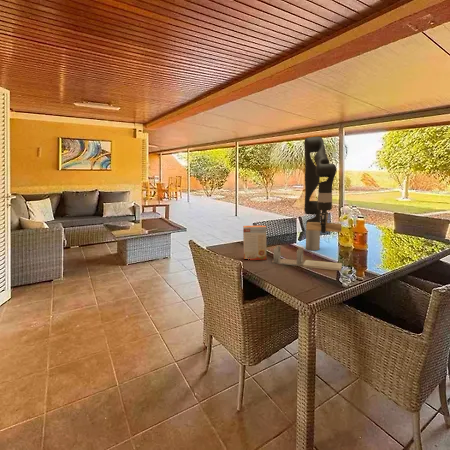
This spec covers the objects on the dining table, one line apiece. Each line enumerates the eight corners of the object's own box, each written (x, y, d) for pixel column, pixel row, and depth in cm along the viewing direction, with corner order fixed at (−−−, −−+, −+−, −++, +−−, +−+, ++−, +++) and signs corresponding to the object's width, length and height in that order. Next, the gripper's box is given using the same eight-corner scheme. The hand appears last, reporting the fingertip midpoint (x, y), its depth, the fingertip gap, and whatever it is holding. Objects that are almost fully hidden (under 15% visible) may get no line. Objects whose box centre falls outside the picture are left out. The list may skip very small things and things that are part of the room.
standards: (275, 259, 185) (275, 245, 184) (304, 262, 178) (305, 247, 176) (271, 263, 178) (271, 248, 176) (302, 266, 171) (302, 250, 169)
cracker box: (265, 257, 190) (265, 224, 186) (266, 260, 184) (266, 226, 180) (243, 257, 191) (243, 225, 187) (243, 260, 185) (243, 226, 181)
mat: (305, 261, 179) (306, 259, 179) (341, 265, 171) (342, 263, 171) (303, 266, 170) (303, 264, 170) (340, 270, 162) (341, 268, 162)
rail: (307, 228, 172) (307, 222, 171) (341, 230, 165) (341, 223, 164) (306, 230, 169) (306, 223, 168) (340, 232, 161) (341, 224, 161)
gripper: (319, 199, 172) (318, 229, 175) (316, 202, 159) (315, 234, 162) (333, 199, 169) (331, 229, 172) (330, 202, 156) (329, 234, 159)
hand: (323, 231), depth 167 cm, fingers closed on rail, 4 cm apart
